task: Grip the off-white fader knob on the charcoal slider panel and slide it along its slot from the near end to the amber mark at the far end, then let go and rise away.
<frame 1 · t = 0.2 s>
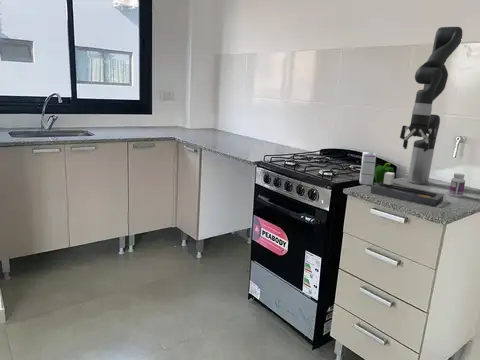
hand: (414, 150, 177), 18 cm above the countertop, tool pointing down, fingers open, 8 cm apart
slider panel: (405, 196, 165), on the countertop
bell pepper: (381, 183, 187), on the countertop
fader knob: (388, 179, 168), point 6 cm above the countertop, slide at -8.0 cm
syrup box: (365, 183, 184), on the countertop
pill bottle: (455, 195, 172), on the countertop
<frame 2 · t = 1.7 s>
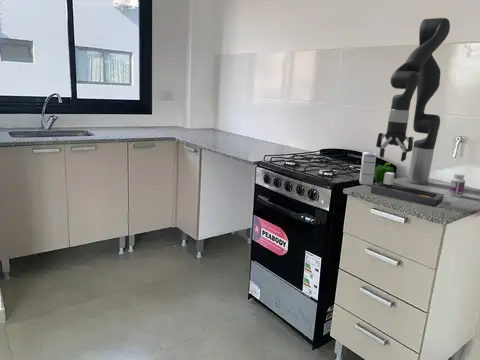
hand: (391, 159, 166), 15 cm above the countertop, tool pointing down, fingers open, 8 cm apart
nothing on the countertop moved.
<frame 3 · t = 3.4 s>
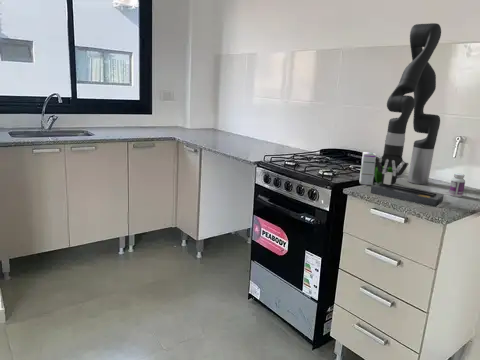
hand: (388, 183, 168), 4 cm above the countertop, tool pointing down, fingers closed on fader knob, 3 cm apart
fader knob: (388, 179, 168), point 6 cm above the countertop, slide at -8.0 cm, touching gripper
everything else where it was.
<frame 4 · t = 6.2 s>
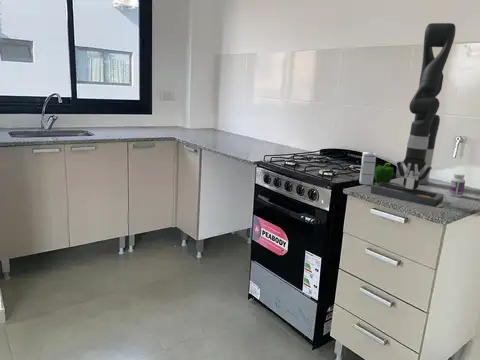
hand: (410, 187, 163), 4 cm above the countertop, tool pointing down, fingers closed on fader knob, 3 cm apart
fader knob: (410, 183, 163), point 6 cm above the countertop, slide at 1.1 cm, touching gripper
everything else where it was.
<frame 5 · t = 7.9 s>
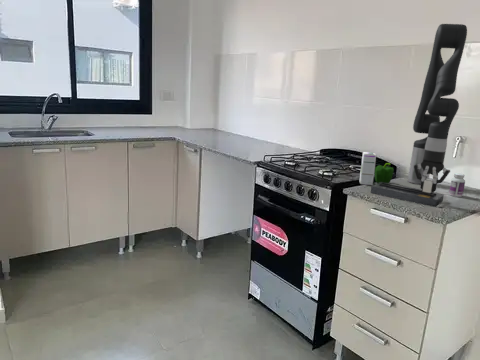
hand: (427, 191, 159), 4 cm above the countertop, tool pointing down, fingers closed on fader knob, 3 cm apart
fader knob: (428, 187, 159), point 6 cm above the countertop, slide at 7.9 cm, touching gripper
everything else where it was.
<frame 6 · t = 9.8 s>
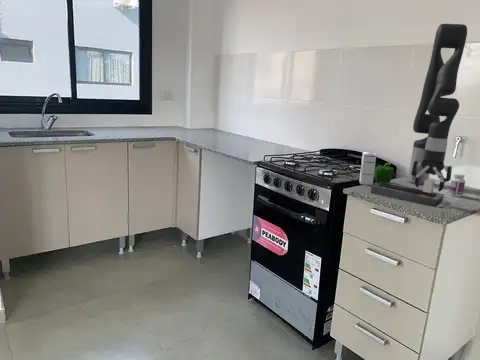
hand: (428, 188, 159), 5 cm above the countertop, tool pointing down, fingers open, 8 cm apart
fader knob: (428, 187, 158), point 6 cm above the countertop, slide at 8.0 cm
everything else where it was.
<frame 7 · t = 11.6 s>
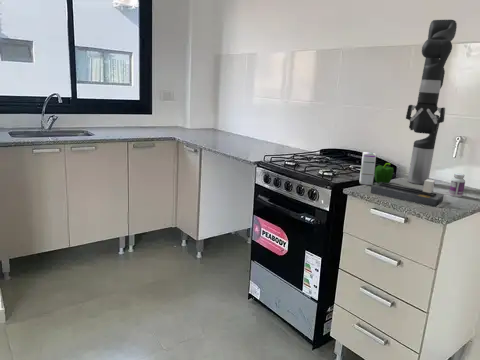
hand: (422, 131, 163), 27 cm above the countertop, tool pointing down, fingers open, 8 cm apart
nothing on the countertop moved.
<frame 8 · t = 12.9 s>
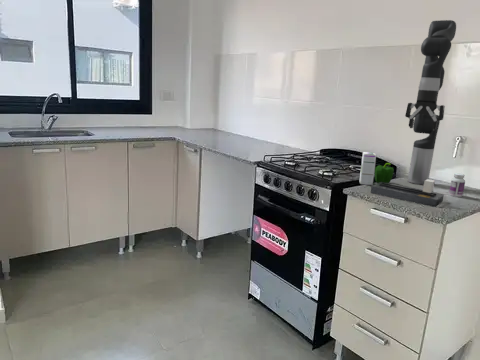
hand: (421, 129, 163), 28 cm above the countertop, tool pointing down, fingers open, 8 cm apart
nothing on the countertop moved.
at the end: fader knob slide at 8.0 cm; the gripper is holding nothing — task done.
